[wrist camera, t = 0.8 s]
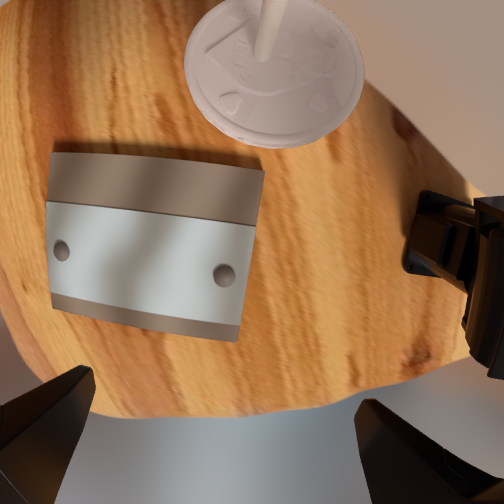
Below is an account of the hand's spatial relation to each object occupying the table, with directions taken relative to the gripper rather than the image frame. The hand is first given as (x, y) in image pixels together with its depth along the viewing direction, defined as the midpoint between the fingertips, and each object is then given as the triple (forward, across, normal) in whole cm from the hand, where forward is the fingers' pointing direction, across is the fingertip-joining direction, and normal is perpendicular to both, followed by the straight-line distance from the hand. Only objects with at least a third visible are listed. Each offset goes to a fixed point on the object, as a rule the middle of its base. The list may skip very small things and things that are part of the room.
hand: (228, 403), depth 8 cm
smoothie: (+13, 0, -11) cm, 17 cm away
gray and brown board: (+13, +7, -1) cm, 14 cm away
